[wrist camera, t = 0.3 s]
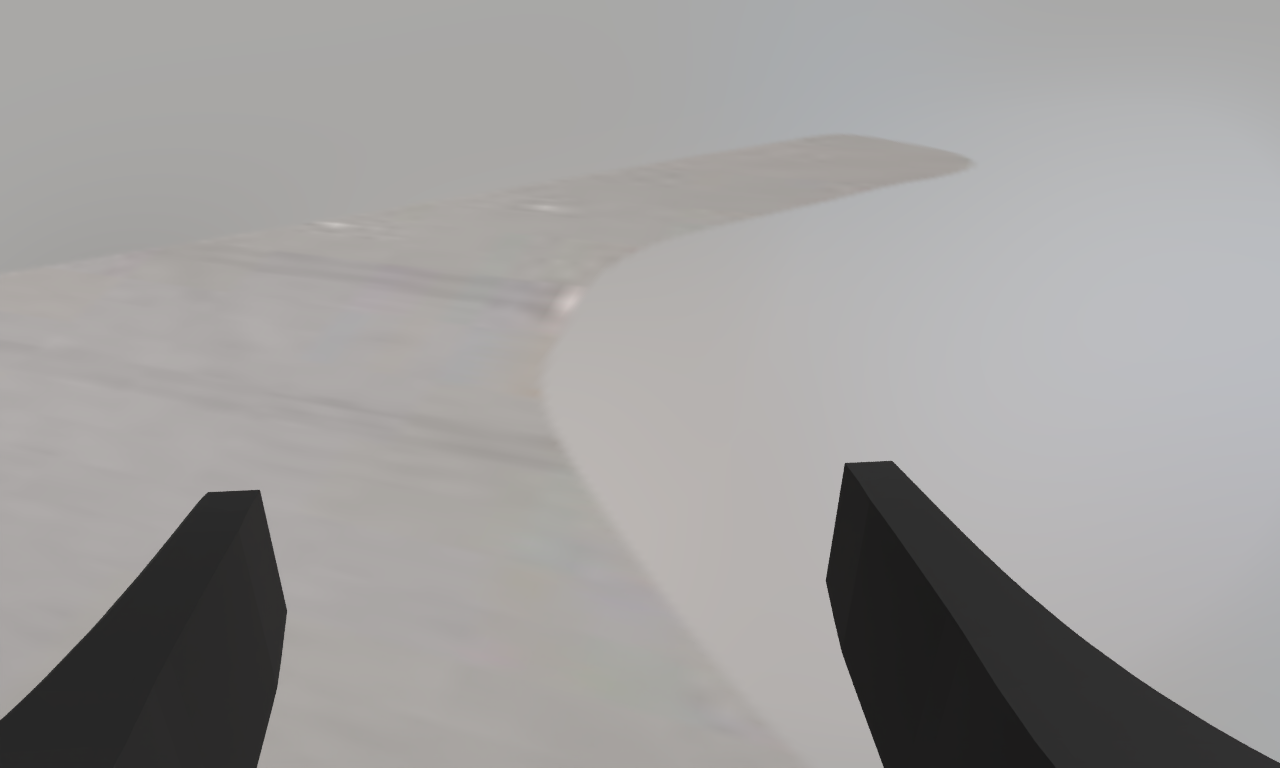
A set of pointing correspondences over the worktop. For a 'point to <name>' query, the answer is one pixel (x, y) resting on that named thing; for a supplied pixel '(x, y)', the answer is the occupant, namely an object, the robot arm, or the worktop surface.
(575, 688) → the worktop surface
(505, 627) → the worktop surface
